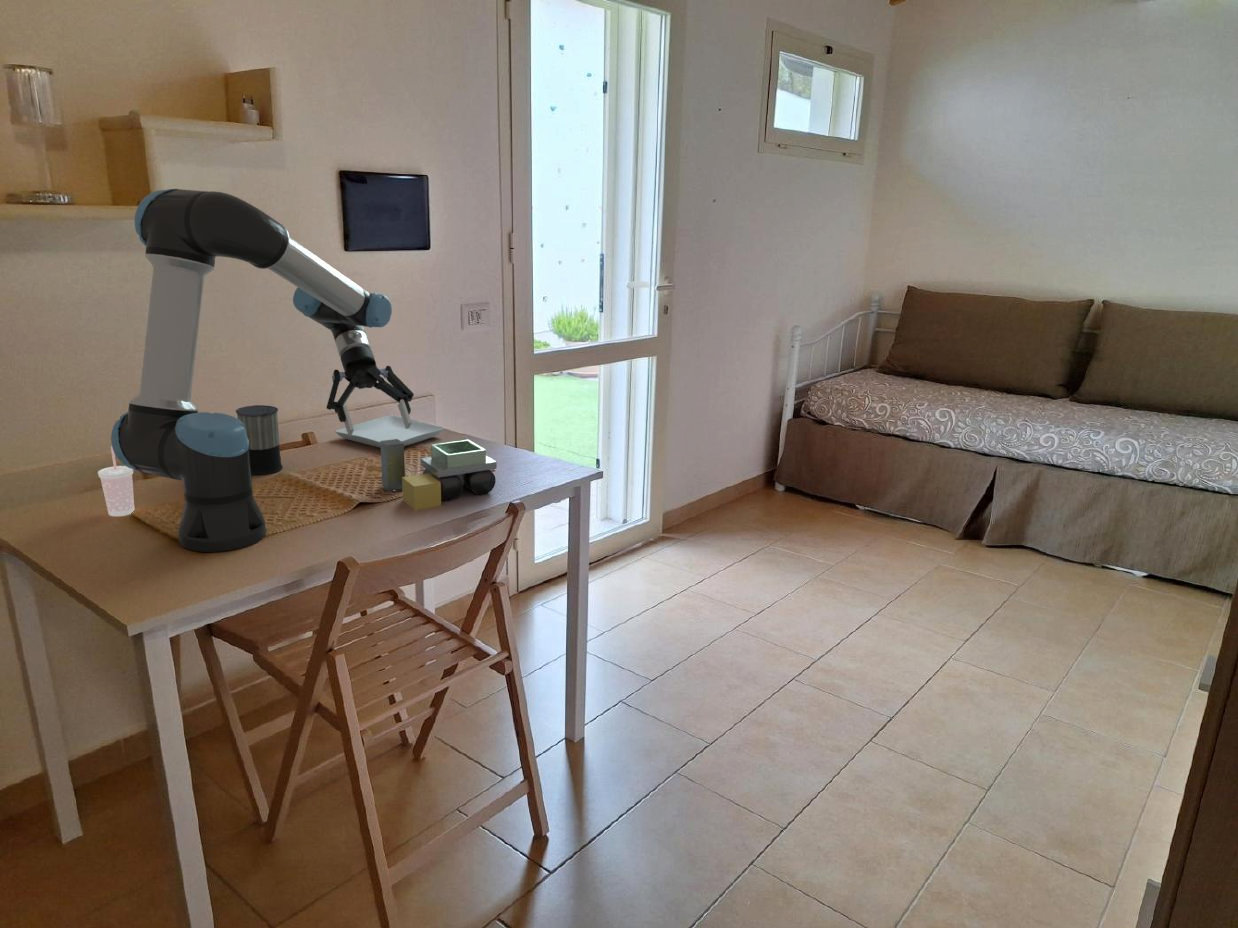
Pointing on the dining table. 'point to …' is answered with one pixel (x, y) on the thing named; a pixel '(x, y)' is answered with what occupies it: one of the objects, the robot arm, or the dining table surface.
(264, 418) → the milk frother
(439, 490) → the block
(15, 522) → the dining table surface
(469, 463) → the box
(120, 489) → the beverage cup
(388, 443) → the pin
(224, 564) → the dining table surface
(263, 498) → the dining table surface
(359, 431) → the salad plate
